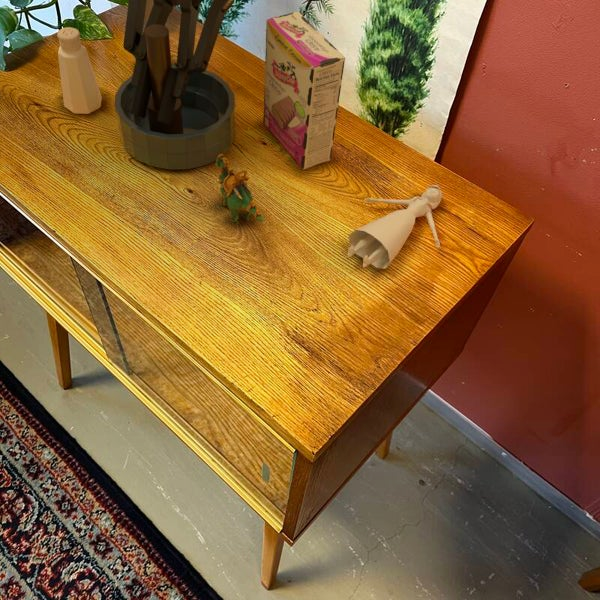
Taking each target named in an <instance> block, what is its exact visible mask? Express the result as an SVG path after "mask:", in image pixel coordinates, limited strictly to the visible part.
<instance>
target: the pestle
mask: <svg viewBox="0 0 600 600" xmlns="http://www.w3.org/2000/svg"><path fill="white" fill-rule="evenodd" d="M145 27H146V26H145ZM168 28H169V27H167V26H166V25H165V26H163V25H157V24H156V25H150V26H148V27H146V29H145V28H144V29H145V31H144V30H143V32H145V41H146V49H147V58H148V66H149V75H150V83H151V92H152V95H151V96H150V98H149V102H148V107H147V111H148V119H149V127H150V131H153V132H158V133H163V134H183V120H182V107H181V100H180V99H178V98H177V99H176V104H175V108H174V112H173V116H172V121H171V125H168V124H164V123H162V122H160V121H158V115H159V111H160V107H161V102H162V98H163V93H164V89H165V85H166V80H167V76H168V72H169V67H170V68H172V65H173V63H172V54H171V41H170V31H169V29H168Z"/></svg>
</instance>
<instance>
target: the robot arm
mask: <svg viewBox="0 0 600 600" xmlns="http://www.w3.org/2000/svg"><path fill="white" fill-rule="evenodd" d="M204 1H205V0H154V5H153V7H152V10H151V13H150V16H149V18H148V21H147V20H146V24H145V18H146V17H145V10H146V2H147V0H128V6H127V12H126V13H127V14H126V19H125V20H126V21H125V29H124V37H123V45H122V46H123V47H122V48H123V49H124V50H125V51H126V52H128V54H130V55H132V56H133V57H134V59H135V62H134V67H133V71H132V72H133V73H132V75H133V76H132V75H131V76H132V80H131V82H132V86H134V87H136V88H137V89H136V93H135V98H134V102H133V106H132V111H131V114H133V115H136V116H138V117H141V118H145V115H146V111H147V107H148V102H149V98H150V93H151V83H150V75H149V66H148V58H147V49H146V41H145V32H144V31H145V29H146V27H148V26H150V25H156V24H157V25H163V26H165V27H166V24H167V21H168V19H169V16H170V14H171V13H172V12H173V10H174V8H175V6H180V22H179V23H180V24H179V35H178V44H177V55H176V62H174V64H173V65H175V66H176V67H177V70H176V69H174V68H170V67H169V72H168V76H167V80H166V85H165V89H164V93H163V98H162V102H161V107H160V111H159V115H158V121H160V122H162V123H164V124H168V125H171V121H172V116H173V112H174V108H175V104H176V99H177V98H178V99H183V98H184V96H185V91H186V87H187V83H188V79H189V76H190V74H191V73H194V72H205V71H206V70H207V69H208V66H209V63H210V60H211V56H212V54H213V51H214V48H215V45H216V42H217V39H218V37H219V34H220V30H221V27H222V24H223V21H224V18H225V16H226V14H227V13H228V11H229V10H230V9H231V7H232V6H233V5H234V3H235V0H211V3H210V5H209V8H208V11H207V15H206V17H205V20H204V23H203V26H202V29H201V32H200V34H199V38H198V41H197V44H196V46H195V43H196V34H197V33H196V32H197V24H198V23H197V22H198V18H199V16H200V5H201V3H203V2H204ZM144 24H145V25H144ZM144 26H145V27H144Z"/></svg>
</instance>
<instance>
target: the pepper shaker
mask: <svg viewBox="0 0 600 600" xmlns="http://www.w3.org/2000/svg"><path fill="white" fill-rule="evenodd" d="M80 34H81V33H80V31H79V30H78V29H77V28H75V27H71V26H68V27H63V28H60V29H59V30H58V31H57V33H56V36H57V39H58V43H59V45H60V46H59V47H58V52H57V57H58V58H57V59H58V66H59V75H60V84H61V92H62V101H63V107H65V109H67V110H68V111H70V112H72V114H77V115H86V114H87V115H89V114H91V113H93V112H95V111H97V110H98V109H100V108H101V106H102V101H103V100H102V99H103V97H102V94H101V91H100V87H99V84H98V81H97V78H96V75H95V72H94V71H95V70H94V69H93V66H92V62H91V59H90V56H89V52H88V50H87V47H86V46H84V45H82V41H81V35H80Z"/></svg>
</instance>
